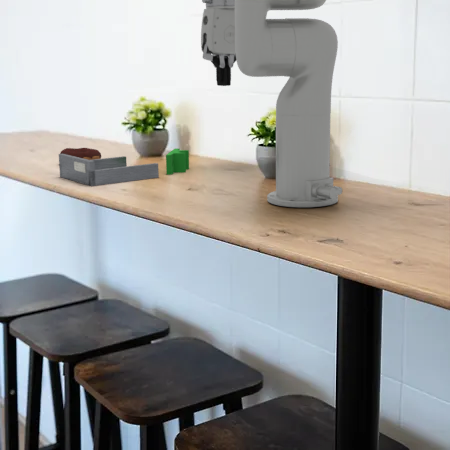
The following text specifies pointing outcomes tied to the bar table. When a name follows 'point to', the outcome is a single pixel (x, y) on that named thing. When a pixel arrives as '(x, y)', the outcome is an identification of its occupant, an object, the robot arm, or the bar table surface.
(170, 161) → the green stepped block
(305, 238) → the bar table surface
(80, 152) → the donut
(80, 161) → the grey tray
